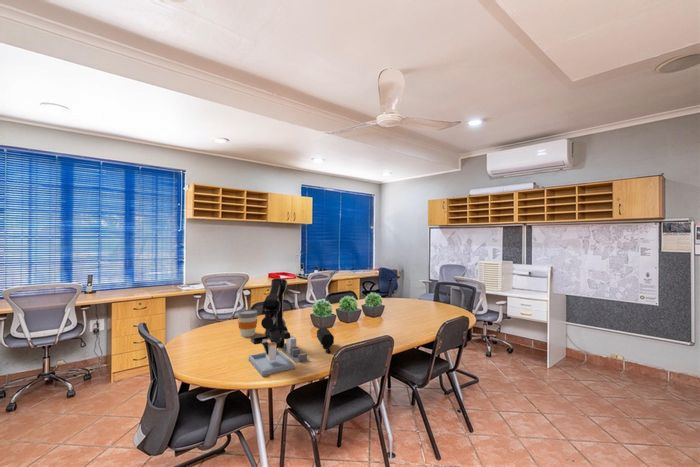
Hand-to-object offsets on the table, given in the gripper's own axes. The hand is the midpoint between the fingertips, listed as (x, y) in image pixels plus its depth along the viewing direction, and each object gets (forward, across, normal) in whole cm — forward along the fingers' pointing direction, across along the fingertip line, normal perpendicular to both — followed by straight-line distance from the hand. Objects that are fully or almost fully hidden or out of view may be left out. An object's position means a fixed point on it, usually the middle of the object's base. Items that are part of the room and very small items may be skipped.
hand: (270, 354), depth 163 cm
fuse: (+5, +15, +10) cm, 19 cm away
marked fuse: (+2, 0, 0) cm, 2 cm away
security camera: (+6, +34, +6) cm, 35 cm away
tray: (+5, 0, 0) cm, 5 cm away
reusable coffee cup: (+6, +3, +55) cm, 55 cm away
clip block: (+5, +15, +4) cm, 16 cm away
